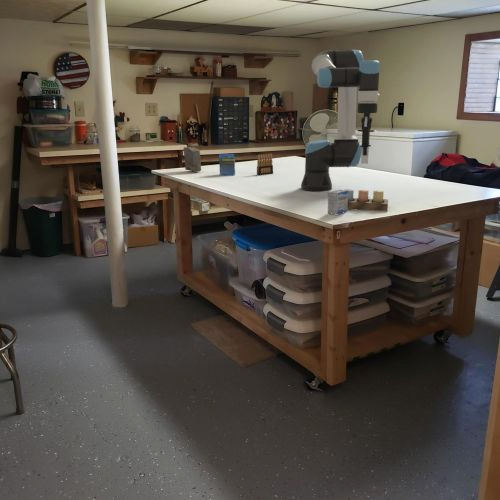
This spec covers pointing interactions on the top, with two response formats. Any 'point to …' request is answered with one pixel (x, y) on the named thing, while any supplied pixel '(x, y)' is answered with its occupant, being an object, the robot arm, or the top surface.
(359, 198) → the button terracotta
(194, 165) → the geological specimen
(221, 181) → the top surface
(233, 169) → the label tape box
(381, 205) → the button board
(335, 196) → the medicine box
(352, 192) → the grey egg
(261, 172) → the ammunition clip
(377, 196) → the button ochre
